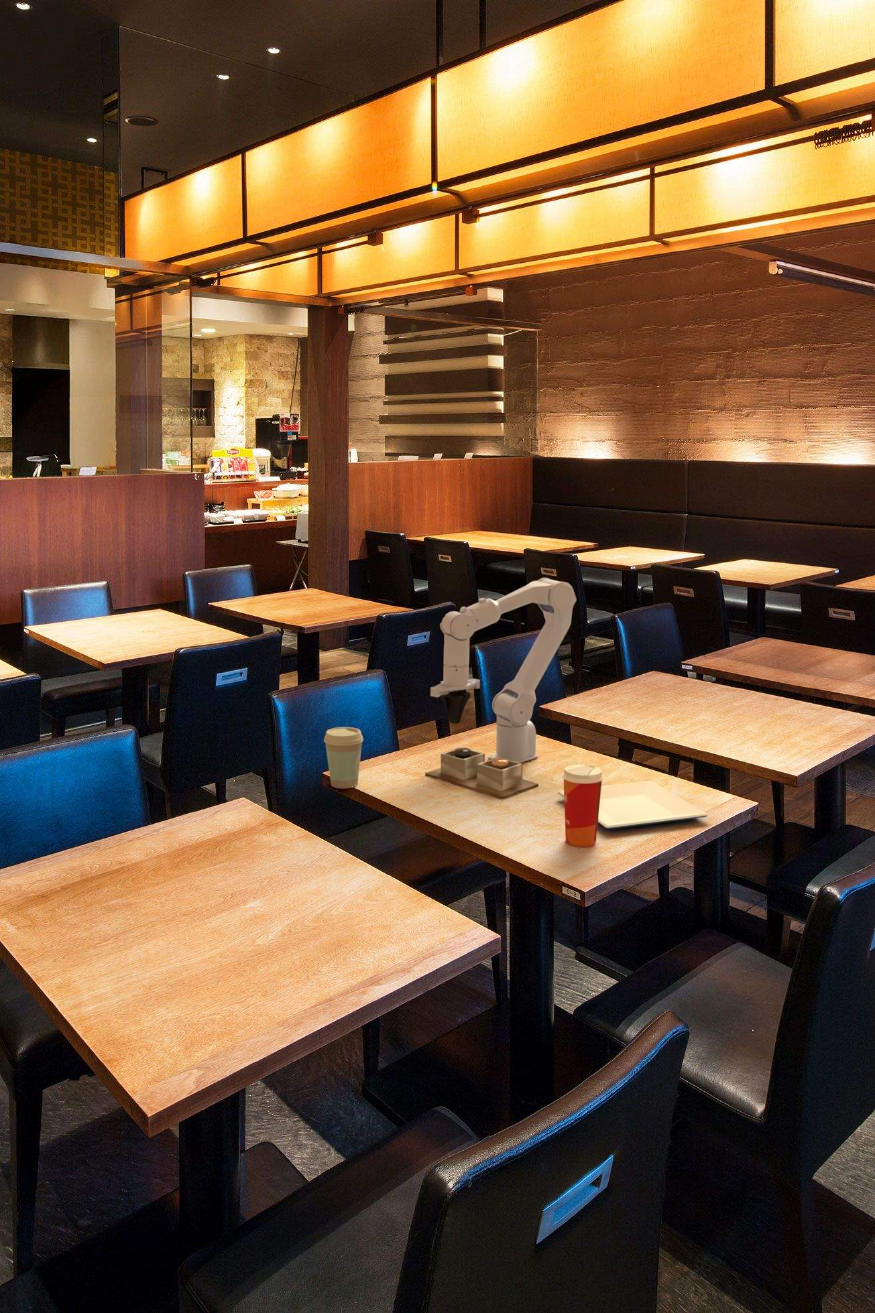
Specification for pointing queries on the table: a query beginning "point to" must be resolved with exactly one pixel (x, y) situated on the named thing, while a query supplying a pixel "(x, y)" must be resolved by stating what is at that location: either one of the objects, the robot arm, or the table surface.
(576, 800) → the paper cup
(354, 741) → the coffee cup
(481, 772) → the press stand
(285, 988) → the table surface
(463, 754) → the black plunger
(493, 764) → the copper plunger
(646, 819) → the plate
